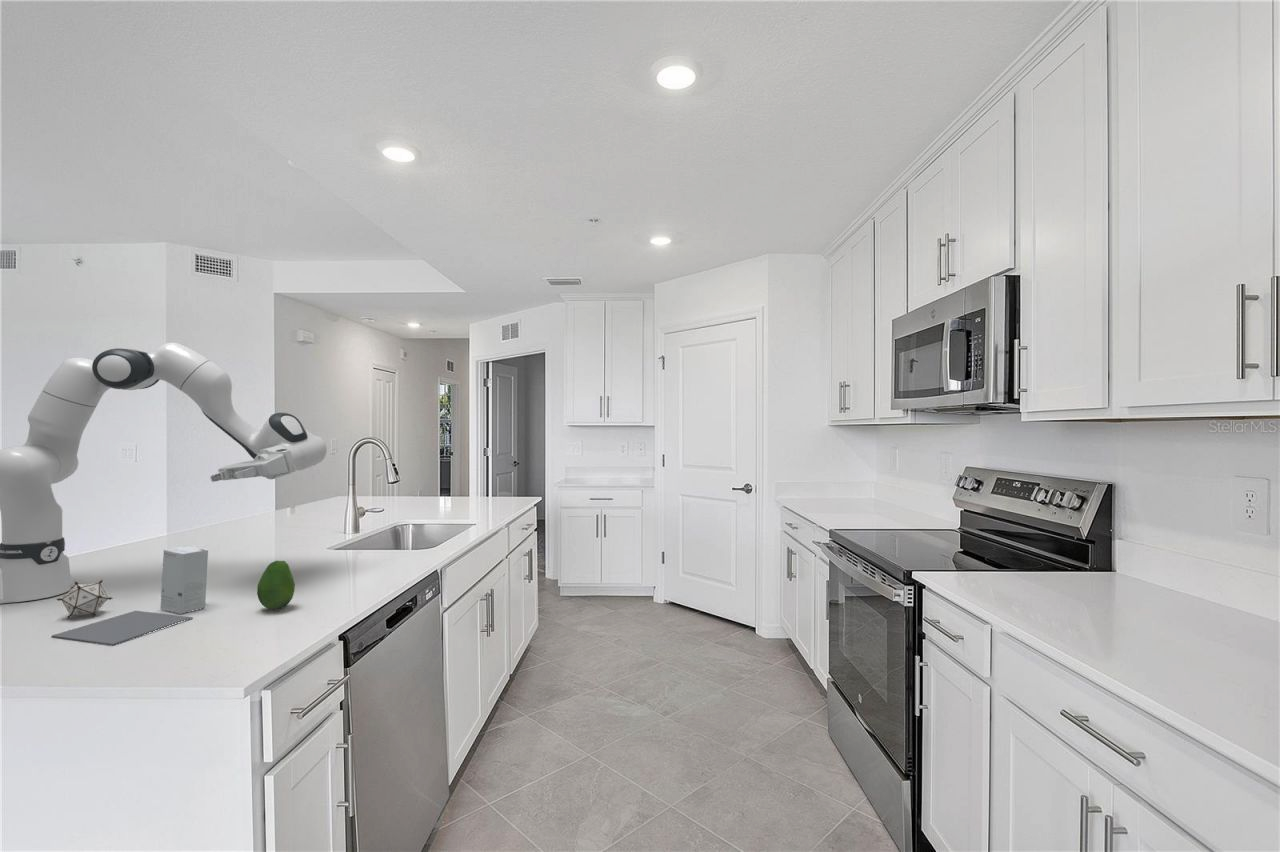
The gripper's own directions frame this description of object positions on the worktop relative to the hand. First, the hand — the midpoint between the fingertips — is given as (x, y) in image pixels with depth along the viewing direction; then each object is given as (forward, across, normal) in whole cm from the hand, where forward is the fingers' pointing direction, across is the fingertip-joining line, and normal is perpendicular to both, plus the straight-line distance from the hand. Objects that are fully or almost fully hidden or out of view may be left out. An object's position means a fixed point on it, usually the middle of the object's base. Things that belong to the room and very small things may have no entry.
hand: (223, 477), depth 156 cm
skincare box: (+17, -2, +28) cm, 33 cm away
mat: (+30, +1, +26) cm, 40 cm away
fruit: (+8, +18, +33) cm, 38 cm away
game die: (+29, -16, +24) cm, 41 cm away
